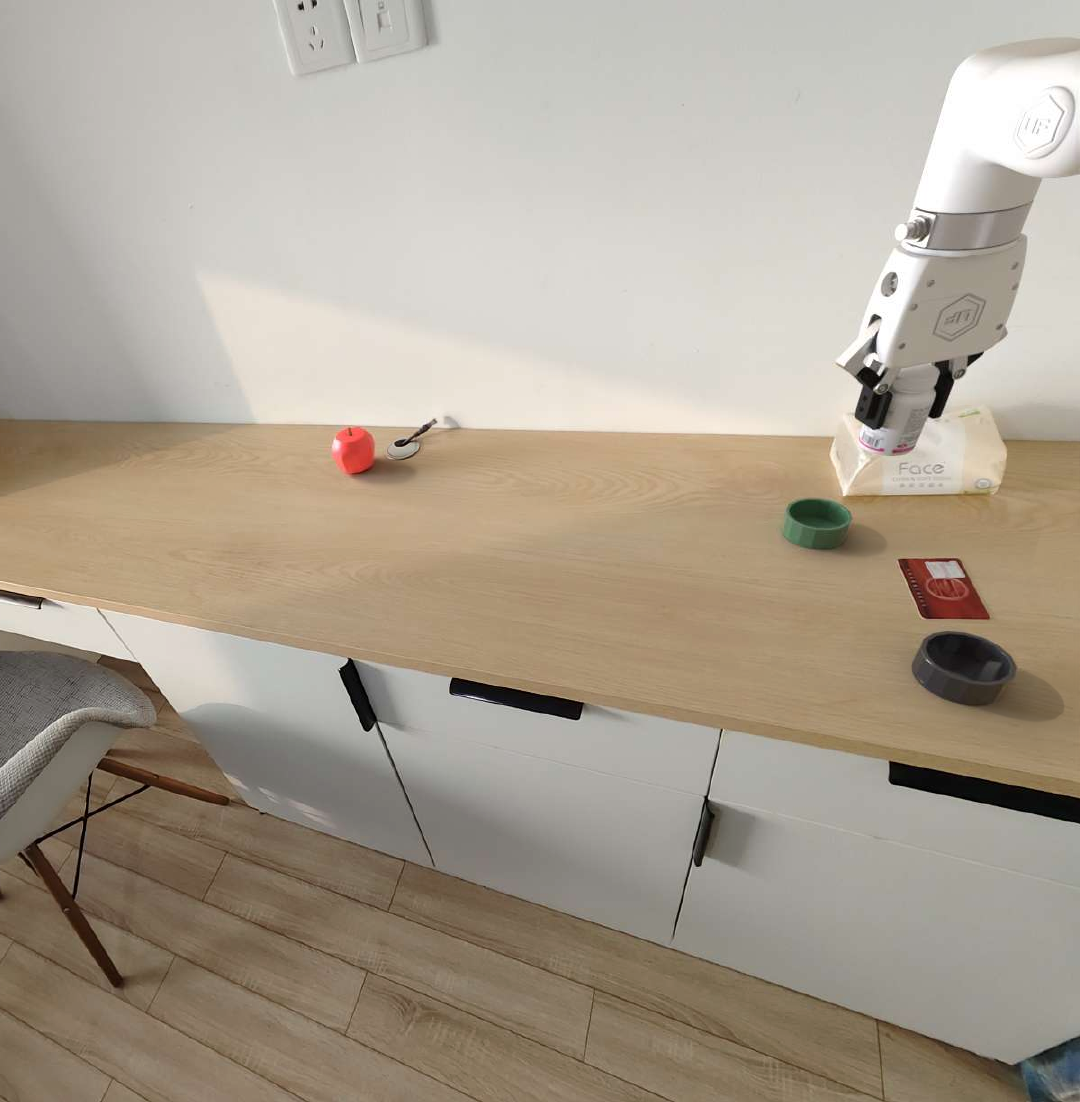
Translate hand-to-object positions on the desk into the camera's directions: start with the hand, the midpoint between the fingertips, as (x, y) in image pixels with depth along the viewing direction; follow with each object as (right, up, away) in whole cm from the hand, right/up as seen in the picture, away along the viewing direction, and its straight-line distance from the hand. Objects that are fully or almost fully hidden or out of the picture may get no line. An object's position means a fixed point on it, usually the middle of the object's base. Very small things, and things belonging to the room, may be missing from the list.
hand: (896, 416), depth 66 cm
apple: (-54, +2, +53) cm, 75 cm away
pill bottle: (+1, -3, +2) cm, 4 cm away
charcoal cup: (+4, -26, -2) cm, 26 cm away
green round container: (+4, -11, +17) cm, 21 cm away
